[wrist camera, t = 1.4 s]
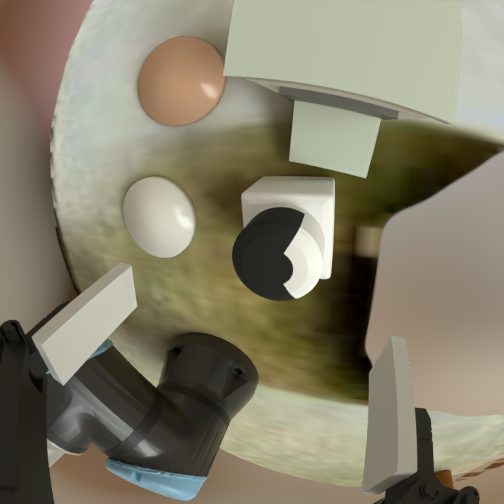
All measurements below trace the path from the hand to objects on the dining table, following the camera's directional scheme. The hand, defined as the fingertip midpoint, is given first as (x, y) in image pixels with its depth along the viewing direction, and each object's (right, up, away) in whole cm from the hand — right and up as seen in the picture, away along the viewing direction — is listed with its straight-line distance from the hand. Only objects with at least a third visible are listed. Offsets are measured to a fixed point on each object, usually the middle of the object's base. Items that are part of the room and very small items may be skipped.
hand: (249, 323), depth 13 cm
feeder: (+8, +18, +9) cm, 21 cm away
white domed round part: (-11, +8, +20) cm, 24 cm away
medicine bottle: (+5, +8, +15) cm, 18 cm away
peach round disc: (-7, +21, +12) cm, 25 cm away
